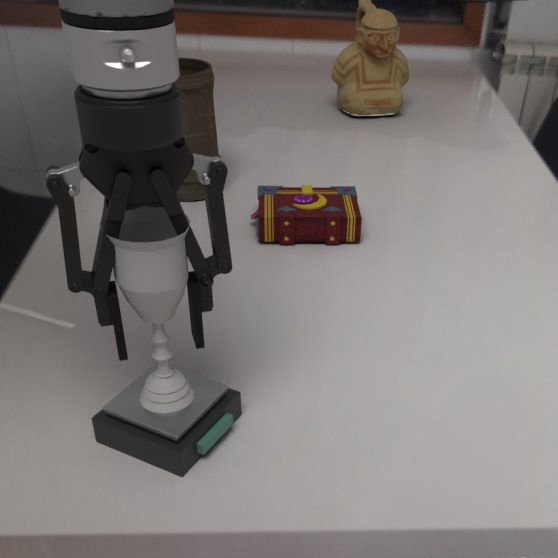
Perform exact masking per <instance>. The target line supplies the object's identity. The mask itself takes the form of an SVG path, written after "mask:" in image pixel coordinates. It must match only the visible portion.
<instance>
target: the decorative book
mask: <svg viewBox="0 0 558 558" xmlns="http://www.w3.org/2000/svg"><path fill="white" fill-rule="evenodd" d="M257 201H258V206H257V209H256V211H255V212H253V213H252V214H251V215H250V221H251V220H253V219H254V218H255V219H254V220H255V221H254V228H256V227H257V226H258V243H279V245H295V243H308V242H310V243H321V242H322V243H325V245H341V243H342V242H343V243H345V242H346V243H349V242H350V243H352V242H353V243H355V242H359V243H360V242H361V233H362V219H363V218H362V213H361V210H360V209H361V208H360V205H359V201H358V193H357V188H356V186H355V185H330V187H321V186H320V187H319V186H318V187H316V186H315V187H313V185H312V184H301V186H299V187H298V186H297V187H296V186H295V187H294V186H284V185H257Z"/></svg>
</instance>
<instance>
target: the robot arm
mask: <svg viewBox="0 0 558 558" xmlns="http://www.w3.org/2000/svg"><path fill="white" fill-rule="evenodd" d="M57 1H58V7H59V14H60V19H61V26H62V31H63V37H64V38H63V39H64V44H65V50H66V55H67V60H68V65H69V71H70V77H71V80H73V82H75V83H76V84H78V85H77V87H76V89H75V90H74V92H73V98H74V102H75V103H74V104H75V108H76V114H77V120H78V121H77V122H78V126H79V133H80V137H81V145H82V147H81V151H80V154H79V156H78V161H76V162H73V163H70V164H68V165H65V166H62V167H60V166H59V165H56V164H52V165H50V166H47V168H46V170H45V177H46V178H45V185H46V189H47V190H48V192H49V194H50V195H51V198H52V199H53V202H54V203H55V205H56V206H57V211H58V219H59V226H60V227H59V228H60V234H61V235H60V236H61V244H62V252H63V259H64V260H63V261H64V267H65V276H66V283H67V289H68V291H70V293H73V294H78V293H81V292H85V293H89V294H90V295H91V296H92V297H93V301H94V307H95V312H96V317H97V323H98V324H99V326H101V327H109V326H113V332H114V337H115V338H114V339H115V344H116V349H117V355H118V361H119V362H122V361H128V360H129V356H128V349H127V343H126V337H125V331H124V323H123V318H122V313H121V306H120V300H119V294H118V289H117V282H116V280H111V277H112V272H113V264H114V259H115V254H116V252H115V245H114V244H113V243H112V242H111V240H110V239H109V238H108V236H110V237H112V238H115V239H119V234H120V229H121V225H122V223H123V220H124V215H125V210H134V209H137V208H140V207H143V206H146V207H153V208H157V207H164V208H165V211H166V213H167V215H168V217H169V219H170V220H171V223H172V225H173V227H174V229H175V231H176V233H177V235H180V234H182V233H184V232H185V231H186V230H187V228H188V227H189V223H188V220H187V218H186V215H187V214H186V213H185V211H184V208H183V206H182V204H181V201H179V199H178V197H177V195H176V193H177V191H178V190H179V188H180V187H181V185H182V183H183V182H184V180H185V179H186V177H187V176H188V174H189V173H190V171H191V169H193V170H195V171H196V175H197V178H198V180H199V182H200V183H201V184H203V189H204V196H205V199H204V203H205V210H206V216H207V222H208V229H209V237H210V242H211V250H212V254H211V255H209V256H207V257H205V255H204V253H203V251H202V248H201V246H200V244H199V242H198V239H197V237H196V235H195V233H194V231H193V229H192V226H191V225H190V227H189V229H188V231H187V234H186V236H185V249H186V254H187V260H188V262H189V264H190V265H191V268H192V270H191V271H189V270H188V271H189V274H188V280H187V284H186V290H187V291H186V292H187V300H188V311H189V322H190V331H191V336H192V340H193V343H194V345H195V350H200V349H205V348H206V347H205V335H204V323H203V313H207V312H209V313H210V312H212V311H213V309H214V294H213V285H214V283H215V279H214V278H215V277H217V276H218V275H221V274H222V275H228V274H230V273H231V272H232V271H233V260H232V251H231V245H230V238H229V237H230V236H229V229H228V219H227V214H226V206H225V205H226V204H225V198H224V189H225V185H226V181H227V177H228V172H229V171H228V167H227V164H226V163H225V161H224V159H223V158H222V156H221V155H220V154H217V153H212V154H210V155H209V156H204V155H199V154H194V153H192V152H191V150H190V148H189V146H188V145H187V143H186V138H185V127H184V115H183V103H182V91H181V89H180V88H179V87H178V85H177V84H176V83H174V82H175V81H176V80H177V79H178V77H179V76H180V71H179V61H178V58H179V51H178V41H177V32H176V31H177V29H176V21H175V19H176V18H175V9H174V7H175V2H174V0H57ZM83 179H86V180H87V182H89V183H90V184H91V185H92V186H93V187H94V188H95V189H96V190H97V191H98V192H99V193H100V194H101V195H102V196H103V197H104V198H103V207H102V213H101V219H100V221H101V228H102V230H101V228H100V227H99V229H98V235H97V240H96V246H95V251H94V256H93V262H92V268H91V270H86V269H85V270H84V269H83V267H82V259H81V258H82V257H81V249H80V239H79V229H78V221H77V212H76V203H75V197H77V196H78V195H79V194H80V192H81V186H80V182H81V181H82V180H83ZM102 231H103V232H102ZM107 235H108V236H107ZM101 327H100V328H101Z"/></svg>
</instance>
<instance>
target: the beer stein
mask: <svg viewBox="0 0 558 558" xmlns="http://www.w3.org/2000/svg"><path fill="white" fill-rule="evenodd" d="M178 61H179V71H180V76H179V77H178V79H177V80H176V81H175V82H174V83H176V84H177V85H178V87H179V88H180V89H181V91H182V103H183V115H184V127H185V138H186V143H187V145H188V146H189V148H190V150H191V152H192V153H194V154H199V155H204V156H209V155H210V154H212V153H217V154H219V142H218V132H217V122H216V111H215V100H214V99H215V98H214V88H215V74H214V72H213V67H212V64H211V63H210V62H208V61H206V60H203V59H198V58H192V57H191V58H190V57H178ZM219 155H220V154H219ZM176 195H177V197H178V199H179V202H195V201H196V200H199V201H203V200H202V199H204V200H205V196H204V189H203V184H201V183H200V182H199V180H198V178H197V175H196V171H195V170H193V169H191V171H190V173H189V174H188V176H187V177H186V179H185V180H184V182H183V183H182V185H181V187H180V188H179V190H178V191H177V193H176ZM194 200H195V201H194ZM196 202H197V201H196Z"/></svg>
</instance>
